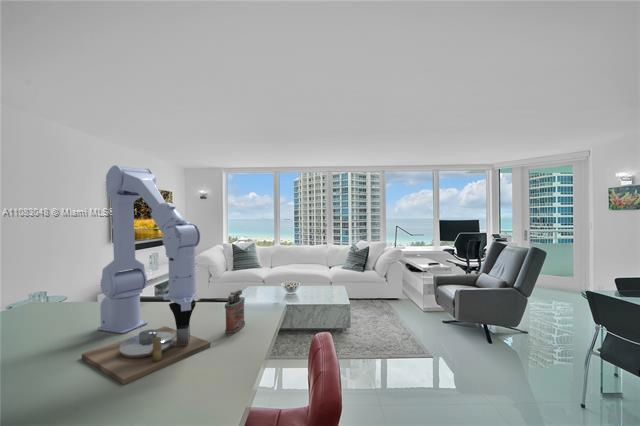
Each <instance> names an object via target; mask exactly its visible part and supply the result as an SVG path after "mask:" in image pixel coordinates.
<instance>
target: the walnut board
mask: <svg viewBox="0 0 640 426" xmlns="http://www.w3.org/2000/svg"><path fill="white" fill-rule="evenodd" d="M154 330H157V332H169V333H172V334H174V336H175V337H177V333H176V329H174V328H171V327H169V326H165V325H164V326H161V327H158V328H156V329H154ZM138 335H139V334H138ZM138 335H134V336H130V337H129V338H126V339H122V340H118V341H116V342H113V343H110V344H107V345H104V346H101V347H98V348H95V349H92V350H89V351H87V352H83V353H81V359H82V360H84V361H85V362H87V363H88V364H90V365H91V366H93V367H94V368H97V369H98V370H100V371H101V372H103V373H105V374H106V375H108V376H109V377H111V378H112V379H114V380H116V381H118V382H119V383H121V384H123V385H126V384H129V383H131V382H134V381H135V380H138V379H139V378H142V377H145V376H146V375H149V374H150V373H154V372H155V371H157V370H160V369H162V368H165V367H167V366H170V365H171V364H174V363H176V362H178V361H181V360H183V359H185V358H187V357H190V356H192V355H194V354H196V353H199V352H201V351H203V350H205V349H208V348H210V347H211V341H208V340H205V339H202V338H200V337H197V336H194V335H191V334H190V341H189V343H188V344H187V345H179V346H172V347H171V348H170V349H168V350H166V351H164V352H162V353H161V337H156V338H153V355H152V356H148V357H142V358H127V357H123V356H121V355H120V345H121V344H122V343H123V342H124V341H126V340H127V339H130V338H132V337H135V336H138Z"/></svg>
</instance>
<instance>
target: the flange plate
mask: <svg viewBox="0 0 640 426" xmlns="http://www.w3.org/2000/svg"><path fill="white" fill-rule="evenodd" d="M175 330H176V333H177V337H175V336H174V334H172V333H169V332H157V330H155V329H152V328H151V329H145V330H142V331H140V332H139V333H138V336H137V335H134V336H135V337H134V336H131V337H132V338H131V337H129V338H130V339H128V338H126V339H127V340H126V341H124V342H123V343H122V344H121V345H120V355H121V356H123V357H127V358H142V357H148V356H152V355H153V338H156V337H161V353H162V352H164V351H166V350H168V349H170V348H171V347H172V346H179V345H187V344H188V343H189V341H190V335H191V325H190V324H189V325H180V326H178V328H176V329H175Z"/></svg>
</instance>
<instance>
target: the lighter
mask: <svg viewBox="0 0 640 426" xmlns="http://www.w3.org/2000/svg"><path fill="white" fill-rule="evenodd" d="M242 294H243V289H242V290H241V289H237V290H235V291H231V292H230V294H229V295H227V296H228V301H227V302H226V303H225V305H224V309H225V331H224V334H225V335H227V336H228V335H229V336H231V334H232V335H235V334H236V333H238V332H240V331H241V330H242V329H243V328H244V327H245V326H246V321H245V300H246V299H245V297H243V296H242ZM244 325H245V326H244ZM243 326H244V327H243ZM242 327H243V328H242ZM239 330H240V331H239Z"/></svg>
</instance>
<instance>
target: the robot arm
mask: <svg viewBox="0 0 640 426" xmlns="http://www.w3.org/2000/svg"><path fill="white" fill-rule="evenodd" d="M156 180H157V178H156V175H155V174H154V172H153V170H151V169H150V168H140V167H139V168H137V167H129V166H119V165H112V166H111V167H110V168H109V169H108V171H107V173H106V176H105V188H106V197H107V198H109V199H111V213H112V214H111V218H112V240H113V241H112V243H113V245H112V247H113V260H111V262H110V263H108V264H107V265H106V266H104V267H103V268H102V271H101V272H102V273H101V280H100V289H101V293H102V294H103V295H104V296H105V297H103V298H102V300H101V301H100V302H101V303H100V326H99V327H97V330H99V331H105V332H112V333H118V334H125V333H127V332H130V331H132V330H135V329H137V328H140V327H142V326H145V325H146V324H148V323H149V322H148V320H147V321H146V320H141V294H143V290H145V288H146V286H147V284H148V275H147V272H146V270H145V264H144V263H143V262H141V261H140V260H137V259H136V242H135V241H136V240H135V239H136V237H135V236H136V234H135V212H134V210H135V209H134V208H135V207H134V203H135V202H136V201H137V200H138V199H141V198H142V200H143V201H144V202H145V203H146V204H147V205H148V206H149V208H151V213H150V216H151V219H152V221H154V222H155V224H156V226H157V227H158V229H159V230H160V231H161V233H162V235H163V236H162V237H161V239H162V245H163V246H164V248H165V255H166V258H168V294H165V295H163V296H162V298H163V299H162V300H164V301H171V303H169V304H168V306H169V308H170V311H171V312H172V314H173V317H174V321H175V322H174V323H175V327H176V329H177V328H178V326H180V325H190V321H191V316H192V314H193V311H194V309H195V307H196V305H197V303H196V300H195V299H196V297H197V292H196V258H195V257H196V254H195V253H196V247H197V246H198V245H199V243H200V241H201V232H200V230H199V228H198V226H197V224H195V223H191V222H189V221H186V220H185V218H184V217H183V215H182V214H181V213H180V212H179V211H178V209H177V207H176V205H174V203H171V202H166V201H165V199H164V197H163V195H162V194H161V191H160V190H159V189H158V187H157V185H156V182H157V181H156Z"/></svg>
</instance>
